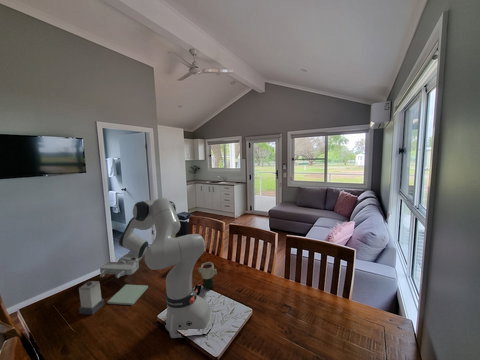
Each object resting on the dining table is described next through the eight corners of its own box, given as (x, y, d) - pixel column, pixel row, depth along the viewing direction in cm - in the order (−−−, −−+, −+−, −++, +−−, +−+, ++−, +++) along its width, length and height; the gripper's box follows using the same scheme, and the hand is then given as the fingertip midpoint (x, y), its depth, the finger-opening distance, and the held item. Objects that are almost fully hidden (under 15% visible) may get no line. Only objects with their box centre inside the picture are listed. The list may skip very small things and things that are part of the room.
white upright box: (101, 299, 102) (99, 279, 101) (92, 307, 96) (89, 286, 95) (91, 298, 103) (88, 278, 102) (81, 307, 97) (78, 286, 96)
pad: (148, 287, 116) (148, 285, 115) (132, 305, 102) (132, 303, 102) (125, 286, 117) (125, 284, 117) (107, 303, 103) (107, 301, 103)
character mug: (219, 284, 117) (218, 263, 115) (215, 292, 110) (214, 269, 108) (202, 281, 119) (201, 261, 118) (196, 289, 112) (195, 267, 111)
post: (104, 304, 103) (102, 287, 102) (92, 314, 96) (90, 297, 95) (91, 303, 104) (89, 287, 103) (79, 313, 97) (77, 296, 96)
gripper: (109, 257, 126) (91, 270, 112) (140, 258, 123) (125, 272, 110) (110, 267, 126) (92, 280, 113) (141, 268, 124) (126, 282, 110)
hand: (108, 276), depth 111 cm, fingers open, 8 cm apart
